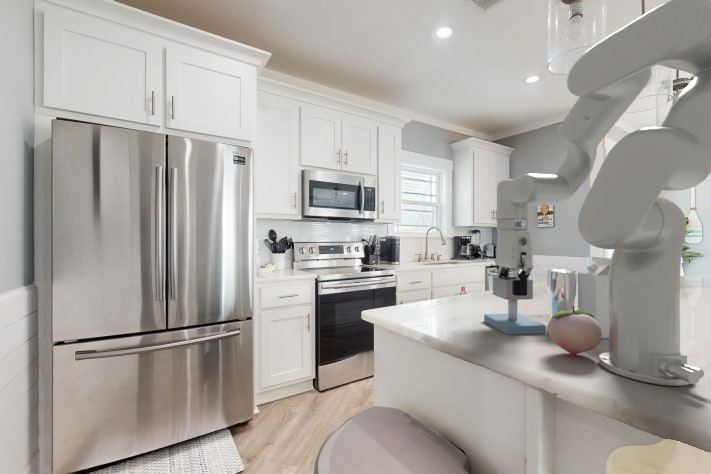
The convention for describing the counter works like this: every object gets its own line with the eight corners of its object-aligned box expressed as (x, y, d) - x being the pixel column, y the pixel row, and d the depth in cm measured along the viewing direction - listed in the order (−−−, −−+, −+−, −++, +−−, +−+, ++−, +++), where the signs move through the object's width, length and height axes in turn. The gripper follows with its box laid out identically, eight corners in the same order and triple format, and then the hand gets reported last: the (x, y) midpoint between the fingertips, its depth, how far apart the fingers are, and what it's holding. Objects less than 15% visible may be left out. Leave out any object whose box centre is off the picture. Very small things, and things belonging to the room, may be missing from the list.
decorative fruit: (577, 366, 59) (576, 313, 59) (541, 351, 67) (539, 304, 67) (614, 359, 62) (613, 308, 62) (575, 346, 69) (573, 300, 69)
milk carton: (607, 330, 81) (606, 256, 81) (628, 339, 74) (627, 258, 74) (577, 329, 82) (577, 256, 81) (595, 338, 74) (595, 258, 74)
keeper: (545, 333, 79) (545, 301, 79) (507, 334, 78) (506, 302, 78) (517, 320, 91) (517, 292, 91) (484, 321, 90) (484, 293, 90)
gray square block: (532, 299, 81) (532, 280, 81) (506, 299, 81) (506, 280, 81) (517, 294, 88) (517, 276, 88) (492, 294, 88) (492, 276, 88)
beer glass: (540, 325, 86) (540, 270, 86) (557, 321, 89) (556, 268, 89) (567, 332, 80) (566, 272, 80) (583, 328, 83) (583, 271, 83)
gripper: (547, 225, 76) (547, 299, 76) (508, 226, 93) (507, 286, 94) (517, 225, 75) (517, 299, 76) (483, 226, 93) (483, 287, 93)
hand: (512, 292), depth 85 cm, fingers closed on gray square block, 7 cm apart
